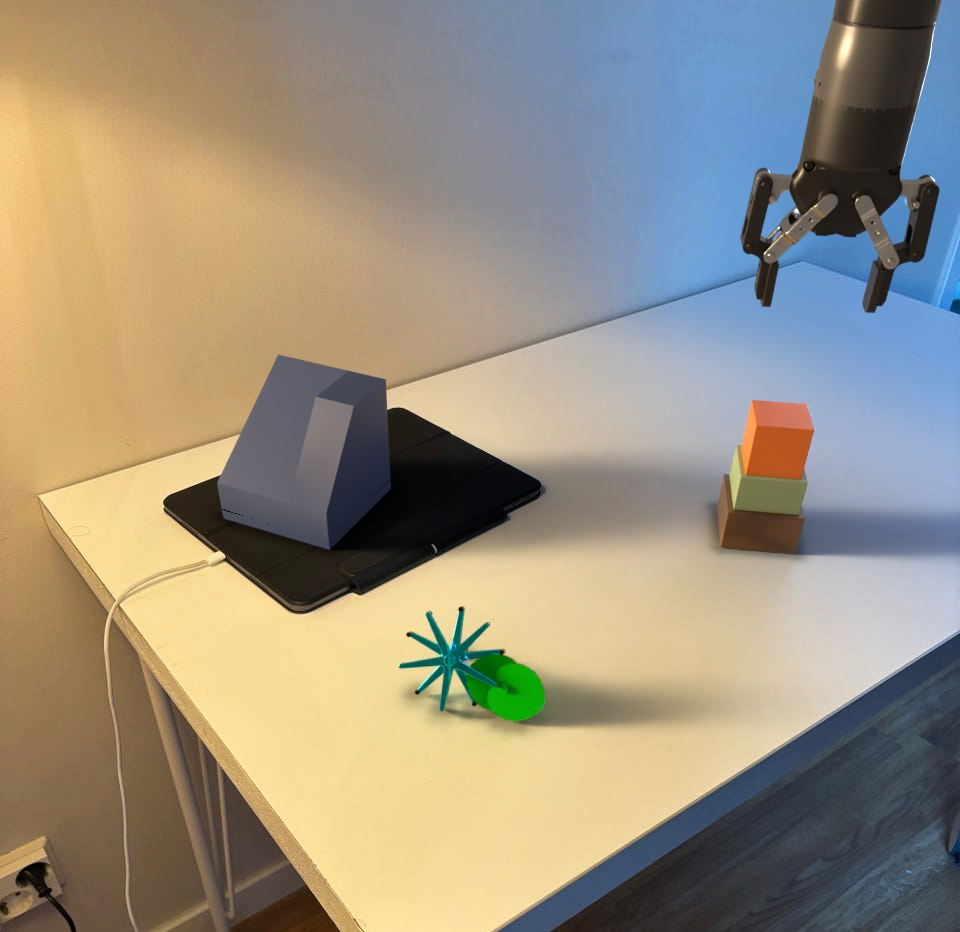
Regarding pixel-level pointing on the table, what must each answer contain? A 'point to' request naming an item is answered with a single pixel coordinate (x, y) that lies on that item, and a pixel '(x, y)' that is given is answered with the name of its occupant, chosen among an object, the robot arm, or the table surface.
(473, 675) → the stick construction toy
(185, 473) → the table surface
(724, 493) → the walnut block
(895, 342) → the table surface
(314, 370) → the phone stand
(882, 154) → the robot arm
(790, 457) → the toy cube
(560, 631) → the table surface
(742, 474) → the green block
